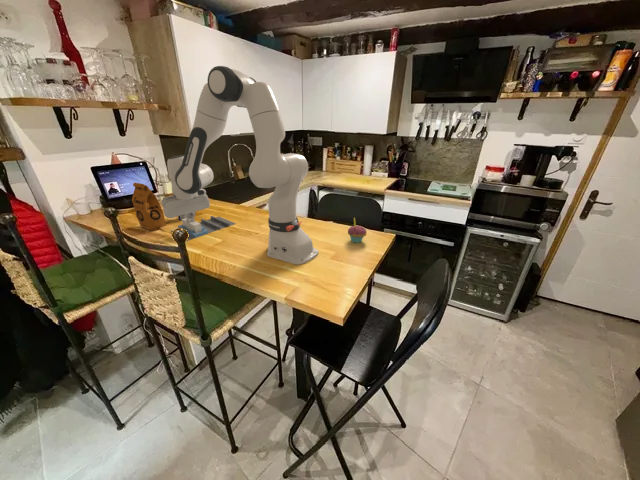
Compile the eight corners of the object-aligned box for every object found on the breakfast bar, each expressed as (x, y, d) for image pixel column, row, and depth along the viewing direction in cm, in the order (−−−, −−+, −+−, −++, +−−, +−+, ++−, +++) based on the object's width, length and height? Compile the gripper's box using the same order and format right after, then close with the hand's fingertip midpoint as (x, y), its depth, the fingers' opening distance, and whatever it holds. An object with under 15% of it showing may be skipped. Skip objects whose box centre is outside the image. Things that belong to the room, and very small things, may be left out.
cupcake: (351, 245, 116) (353, 220, 111) (344, 237, 124) (346, 213, 118) (368, 243, 118) (371, 219, 113) (361, 235, 126) (363, 212, 121)
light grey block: (202, 233, 123) (200, 223, 121) (196, 235, 121) (194, 225, 119) (189, 226, 130) (187, 217, 127) (183, 228, 128) (181, 219, 125)
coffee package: (149, 233, 125) (135, 188, 115) (137, 227, 131) (123, 183, 121) (170, 226, 132) (158, 183, 122) (158, 221, 138) (146, 180, 129)
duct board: (236, 225, 135) (235, 219, 133) (187, 242, 116) (186, 236, 115) (219, 218, 144) (218, 212, 142) (170, 233, 125) (169, 226, 124)
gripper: (163, 199, 108) (171, 230, 114) (208, 189, 122) (213, 217, 129) (156, 196, 111) (165, 226, 118) (201, 187, 126) (206, 214, 132)
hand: (190, 221), depth 123 cm, fingers closed, pressing on light grey block
